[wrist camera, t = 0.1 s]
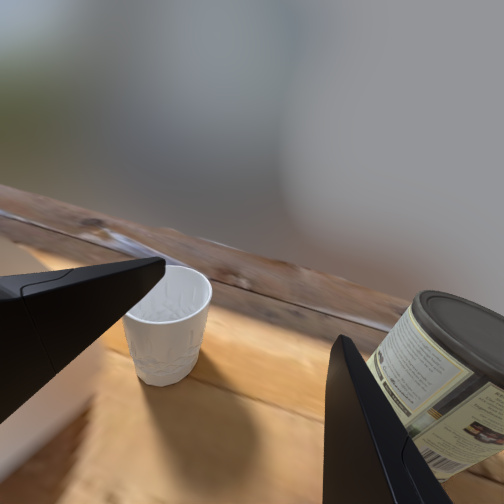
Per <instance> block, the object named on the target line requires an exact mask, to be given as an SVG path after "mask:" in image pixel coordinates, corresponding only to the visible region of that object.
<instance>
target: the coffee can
mask: <svg viewBox="0 0 504 504" xmlns="http://www.w3.org/2000/svg"><path fill="white" fill-rule="evenodd" d="M366 364H367V366H368V367H369V369H370V371H371V372H372V374H373V376H374V377H375V379H376V381H377V382H378V384H379V386H380V387H381V389H382V390H383V392H384V394H385V395H386V397H387V399H388V400H389V402H390V404H391V405H392V407H393V409H394V410H395V412H396V413H397V415H398V417H399V418H400V420H401V422H402V423H403V425H404V427H405V428H406V430H407V432H408V433H409V435H408V436H410V437H411V438H412V440H413V441H414V443H415V445H416V446H417V448H418V450H419V451H420V453H421V454H422V456H423V458H424V459H425V461H426V462H427V464H428V465H429V467H430V469H431V470H432V472H433V473H434V475H435V477H436V478H437V480H438V481H439V483H443V482H445V481H446V480H448V479H449V478H450V477H451V476H453V475H455V474H458V473H460V472H461V471H463V470H465V469H467V468H469V467H471V466H473V465H475V464H477V463H479V462H481V461H483V460H485V459H487V458H489V457H491V456H493V455H495V454H497V453H499V452H501V451H503V450H504V317H503V316H502V315H500V314H498V313H496V312H494V311H492V310H490V309H488V308H485V307H483V306H481V305H479V304H476V303H474V302H472V301H469V300H466V299H464V298H461V297H458V296H455V295H452V294H449V293H445V292H440V291H434V290H424V291H420V292H419V293H417V295H416V296H415V298H414V299H413V303H412V304H411V305H410V306H409V308H408V309H407V310H406V312H405V313H404V314H403V316H402V317H401V318H400V319H399V321H398V322H397V323H396V325H395V326H394V327H393V328H392V330H391V331H390V332H389V334H388V335H387V336H386V338H385V339H384V340H383V342H382V343H381V344H380V345H379V347H378V348H377V349H376V351H375V352H374V353H373V355H372V356H371V357H370V358H369V360H368V361H367V362H366Z"/></svg>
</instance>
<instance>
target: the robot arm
mask: <svg viewBox="0 0 504 504" xmlns="http://www.w3.org/2000/svg"><path fill="white" fill-rule="evenodd" d="M165 273H166V261H165V259H163V258H161V257H151V258H143V259H136V260H129V261H122V262H115V263H108V264H101V265H94V266H87V267H79V268H75V269H74V268H72V269H65V270H57V271H50V272H41V273H31V274H21V275H11V276H1V277H0V424H1V423H2V422H3V421H4V420H6V419H7V418H8V417H9V416H10V415H11V414H13V413H14V412H15V411H16V410H17V409H18V408H19V407H20V406H21V405H23V404H24V403H25V402H26V401H27V400H28V399H29V398H31V397H32V396H33V395H34V394H35V393H36V392H38V391H39V390H40V389H41V388H42V387H43V386H44V385H45V384H46V383H48V382H49V381H50V380H51V379H52V378H53V377H55V376H56V374H57V373H59V372H60V371H61V370H62V369H63V368H64V367H66V366H67V365H68V364H69V363H70V362H71V361H72V360H74V359H75V358H76V357H77V356H78V355H79V354H80V353H81V352H82V351H84V350H85V349H86V348H87V347H88V346H89V345H91V344H92V343H93V342H94V341H95V340H96V339H98V338H99V337H100V336H101V335H102V334H103V333H104V332H105V331H107V330H108V329H109V328H110V327H111V326H112V325H113V324H115V323H116V322H117V321H118V320H119V319H120V318H121V317H123V316H124V315H125V314H126V313H127V312H128V311H129V310H130V309H132V308H133V307H134V306H135V305H136V304H137V303H138V302H140V301H141V300H142V299H143V298H144V297H145V296H146V295H147V294H148V293H149V292H150V291H151V290H152V289H153V287H154V286H155V285H156V284H157V283H158V282H159V281H160V280H161V279H162V278H163V277H164V275H165ZM408 435H409V433H408V432H407V430H406V428H405V427H404V425H403V423H402V422H401V420H400V418H399V417H398V415H397V413H396V412H395V410H394V409H393V407H392V405H391V404H390V402H389V400H388V399H387V397H386V395H385V394H384V392H383V390H382V389H381V387H380V386H379V384H378V382H377V381H376V379H375V377H374V376H373V374H372V372H371V371H370V369H369V367H368V366H367V364H366V362H365V361H364V359H363V358H362V356H361V354H360V353H359V351H358V349H357V348H356V346H355V344H354V343H353V341H352V340H351V338H349V337H347V336H345V335H342V334H341V335H339V336H338V338H337V339H336V341H335V343H334V344H333V346H332V348H331V353H330V360H329V367H328V374H327V380H326V391H325V426H324V464H323V502H322V504H453V502H452V501H451V499H450V498H449V496H448V495H447V493H446V492H445V490H444V489H443V487H442V486H441V484H440V483H439V481H438V480H437V478H436V477H435V475H434V473H433V472H432V470H431V469H430V467H429V465H428V464H427V462H426V461H425V459H424V458H423V456H422V454H421V453H420V451H419V450H418V448H417V446H416V445H415V443H414V441H413V440H412V438H411V437H410V436H408Z"/></svg>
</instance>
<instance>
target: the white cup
mask: <svg viewBox="0 0 504 504" xmlns="http://www.w3.org/2000/svg"><path fill="white" fill-rule="evenodd" d="M211 297H212V287H211V284H210V282H209V281H208V279H207V278H206V277H205V276H203V275H202V274H201V273H199V272H197V271H195V270H193V269H190V268H186V267H181V266H166V273H165V275H164V277H163V278H162V279H161V280H160V281H159V282H158V283H157V284H156V285H155V286H154V287H153V289H152V290H151V291H150V292H149V293H148V294H147V295H146V296H145V297H144V298H143V299H142V300H141V301H140V302H138V303H137V304H136V305H135V306H134V307H133V308H132V309H130V310H129V311H128V312H127V313H126V314H125V315H124V316H123V317H121V318H122V323H123V327H124V332H125V337H126V340H127V343H128V348H129V351H130V355H131V357H132V358H133V361H134V364H135V369H136V374H137V376H138V377H139V378H141V379H142V380H143V381H144V382H145V383H146V384H149V385H154V386H160V387H163V386H167V385H170V384H174V383H177V382H179V381H180V380H181V379H183V378H184V377H185V376H187V375H188V374H189V373H190V372H191V371H192V369H193V367H194V365H195V364H196V362H197V360H198V355H199V349H200V346H201V343H202V340H203V335H204V331H205V327H206V322H207V317H208V312H209V307H210V302H211Z"/></svg>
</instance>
